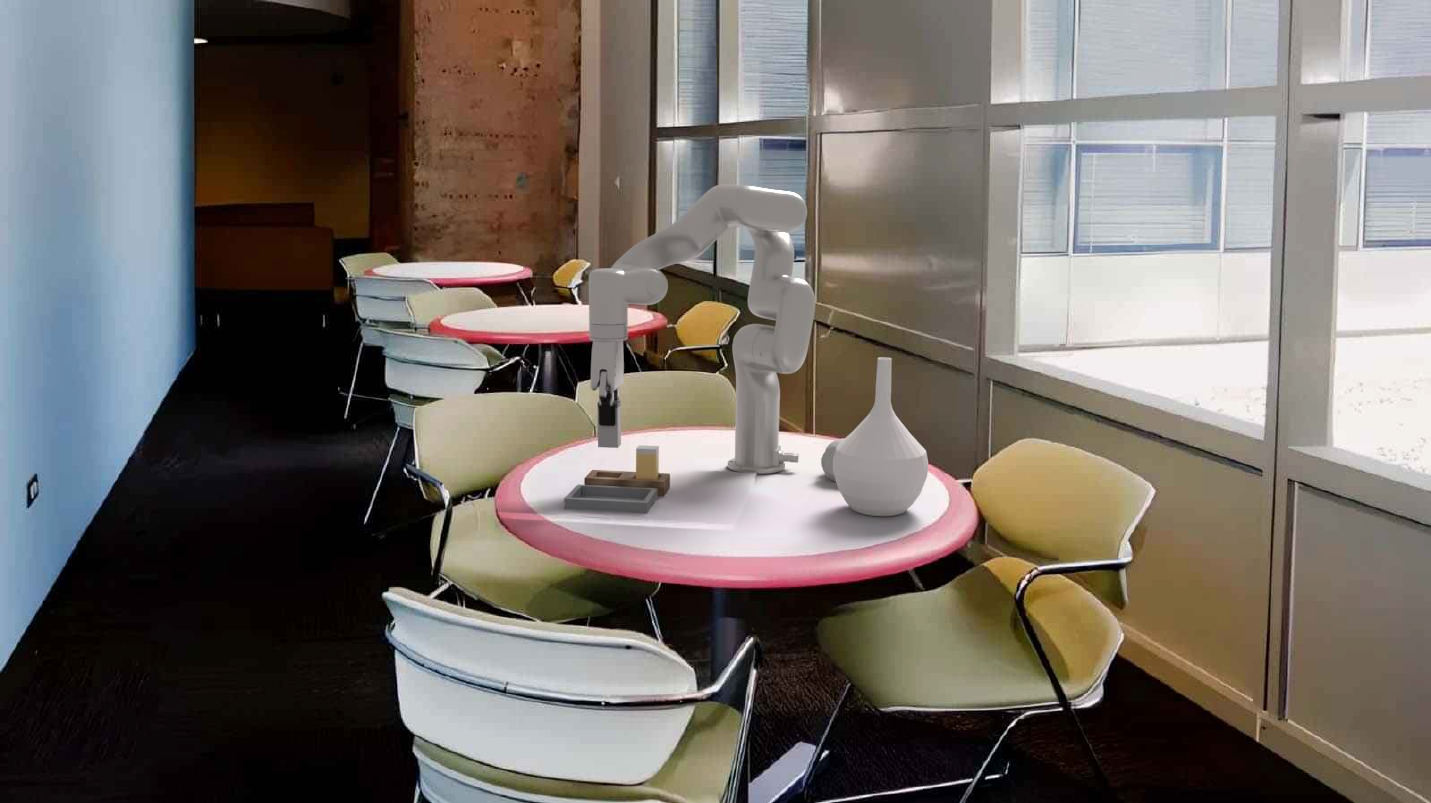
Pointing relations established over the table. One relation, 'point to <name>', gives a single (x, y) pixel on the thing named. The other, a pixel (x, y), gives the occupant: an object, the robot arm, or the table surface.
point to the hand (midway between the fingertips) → (609, 422)
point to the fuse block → (627, 480)
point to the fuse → (647, 462)
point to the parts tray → (579, 503)
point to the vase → (880, 458)
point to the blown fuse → (611, 430)
